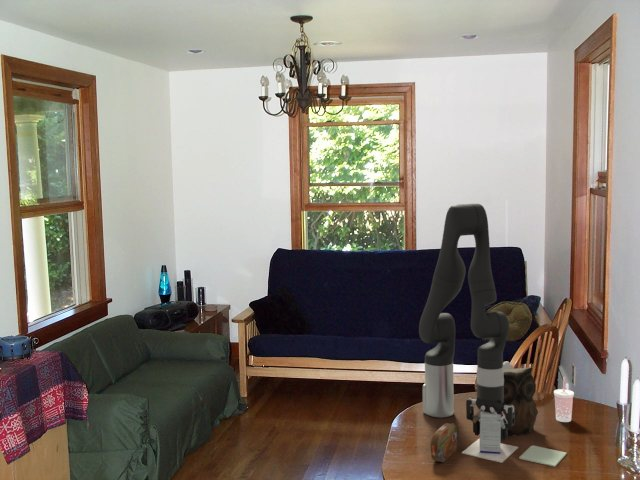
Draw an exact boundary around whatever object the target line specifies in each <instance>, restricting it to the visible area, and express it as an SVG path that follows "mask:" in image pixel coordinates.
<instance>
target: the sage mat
mask: <svg viewBox="0 0 640 480" xmlns="http://www.w3.org/2000/svg"><path fill="white" fill-rule="evenodd" d="M567 453H568V452H567V451H565V452H564V451H561V450H556V449H552V448H547V447H543V446H542V447H541V446H539V445H538V446H537V445H531V446H529V447H528V448H527V449H526V450H525V451H524V452H523V453H522V454H521V455H520V456H519V457H518V459H519V460H523V461H528V462H531V463H537V464H541V465H545V466H550V467H554V468H556V466H557V465H558V464H559V463H560V462H561V461H562V460H563V459H564V458H565V457H566V455H567Z"/></svg>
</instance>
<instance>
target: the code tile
mask: <svg viewBox="0 0 640 480" xmlns="http://www.w3.org/2000/svg"><path fill="white" fill-rule="evenodd" d="M518 449H519V446H516V445H511V444H507V443H501V445H500V454H493V453H480V438H477V439H476V440H475V441H474V442H473V443H472V444H471V445H469V446H467V448H466V449H464V450H463V451H461V454H462V455H467V456H471V457H476V458H479V459H484V460H489V461H491V462H492V461H493V462H497V463H504V462H505V461H506V460H507V459H508V458H509V457H510V456H511V455H512V454H513V453H514V452H515V451H517V450H518Z"/></svg>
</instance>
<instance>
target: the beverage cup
mask: <svg viewBox="0 0 640 480" xmlns="http://www.w3.org/2000/svg"><path fill="white" fill-rule="evenodd" d="M562 377H563V379H562V380H563V381H562V383H563V384H562V388H558V389H554V390H553V395H554V406H555V407H554V408H555V409H554V410H555V420H556V421H557V422H561V423H569V422H571V421H572V418H573V417H572V415H573V402H574V400H573V399H574V396H575V392H574V391H572V390H571V389H566V384H565V383H566V376H562Z"/></svg>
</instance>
